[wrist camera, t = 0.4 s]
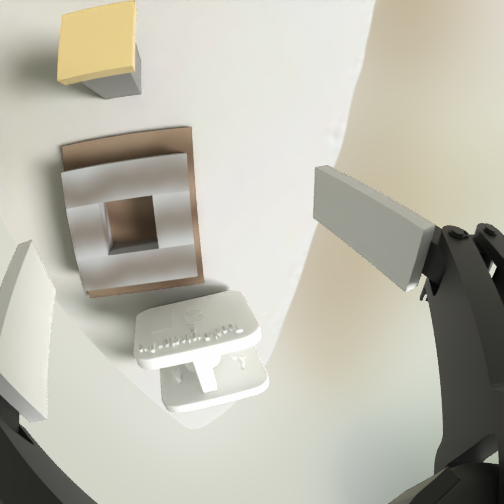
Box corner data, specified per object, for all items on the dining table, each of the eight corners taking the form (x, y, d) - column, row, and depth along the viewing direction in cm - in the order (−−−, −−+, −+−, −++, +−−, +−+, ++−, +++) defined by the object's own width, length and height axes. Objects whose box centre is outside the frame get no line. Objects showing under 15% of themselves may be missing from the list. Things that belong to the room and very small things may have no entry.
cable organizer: (156, 361, 43) (160, 417, 33) (135, 305, 39) (130, 359, 29) (249, 339, 47) (273, 390, 36) (239, 281, 42) (265, 328, 32)
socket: (63, 146, 30) (50, 147, 25) (191, 127, 33) (194, 124, 29) (90, 295, 37) (83, 313, 33) (203, 280, 41) (208, 297, 36)
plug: (100, 62, 27) (62, 15, 13) (145, 55, 29) (135, 0, 14) (101, 105, 29) (56, 81, 15) (146, 98, 31) (132, 65, 16)
